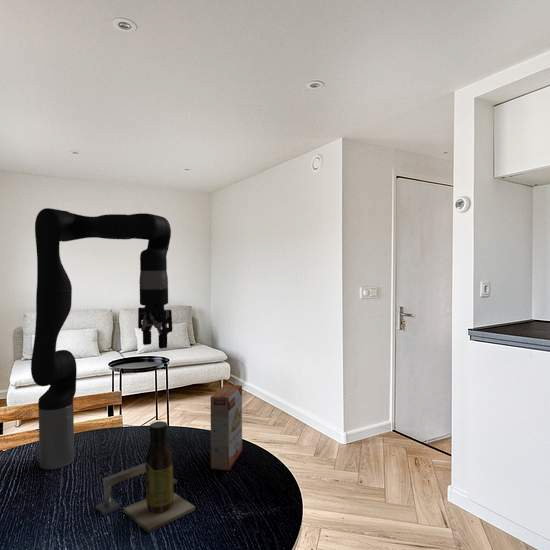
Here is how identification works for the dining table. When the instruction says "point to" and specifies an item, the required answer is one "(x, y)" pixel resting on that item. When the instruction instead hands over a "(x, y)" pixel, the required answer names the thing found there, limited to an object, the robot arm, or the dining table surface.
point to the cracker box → (226, 426)
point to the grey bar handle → (109, 503)
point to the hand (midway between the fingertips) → (154, 346)
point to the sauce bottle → (159, 470)
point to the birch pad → (157, 513)
